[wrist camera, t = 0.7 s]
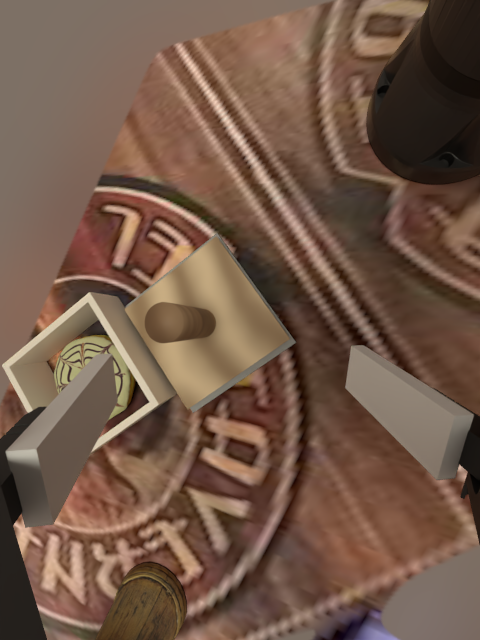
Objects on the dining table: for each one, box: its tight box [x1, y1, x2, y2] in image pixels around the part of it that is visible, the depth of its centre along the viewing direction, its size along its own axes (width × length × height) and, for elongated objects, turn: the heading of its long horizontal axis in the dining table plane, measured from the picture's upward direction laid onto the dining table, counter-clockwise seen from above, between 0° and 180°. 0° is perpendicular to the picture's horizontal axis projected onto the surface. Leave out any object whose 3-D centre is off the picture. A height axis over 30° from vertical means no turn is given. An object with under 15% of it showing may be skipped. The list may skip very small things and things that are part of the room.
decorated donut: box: [54, 335, 136, 420], centre depth 34 cm, size 10×11×4 cm
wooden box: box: [2, 292, 177, 456], centre depth 33 cm, size 15×15×5 cm
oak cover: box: [124, 236, 290, 409], centre depth 27 cm, size 14×14×11 cm
